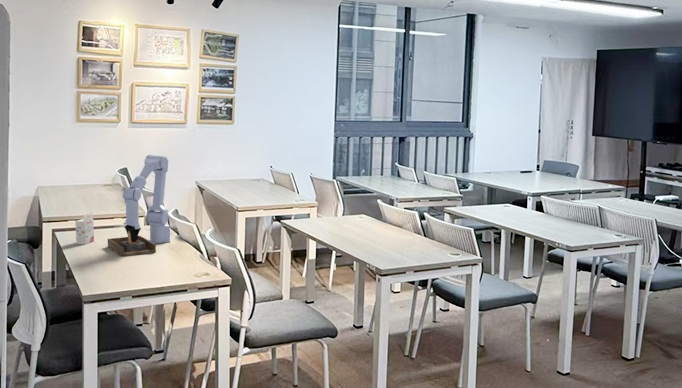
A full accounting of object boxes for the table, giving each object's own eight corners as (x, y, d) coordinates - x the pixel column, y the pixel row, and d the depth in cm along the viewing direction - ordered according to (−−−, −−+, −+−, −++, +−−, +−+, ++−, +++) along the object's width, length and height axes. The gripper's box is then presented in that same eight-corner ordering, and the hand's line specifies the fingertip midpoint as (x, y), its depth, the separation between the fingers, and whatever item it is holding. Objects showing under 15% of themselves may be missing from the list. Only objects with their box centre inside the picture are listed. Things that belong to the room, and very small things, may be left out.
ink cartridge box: (85, 240, 347) (84, 212, 344) (94, 241, 346) (93, 212, 343) (75, 244, 338) (74, 214, 336) (84, 245, 337) (84, 215, 335)
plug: (135, 246, 331) (135, 229, 330) (137, 247, 328) (137, 231, 327) (127, 246, 329) (127, 230, 328) (130, 248, 326) (130, 232, 325)
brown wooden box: (140, 243, 344) (139, 235, 343) (155, 252, 326) (155, 244, 326) (107, 246, 335) (107, 238, 334) (122, 256, 317) (121, 248, 316)
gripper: (119, 211, 330) (119, 239, 332) (128, 216, 318) (129, 245, 320) (133, 210, 334) (133, 237, 336) (143, 215, 322) (144, 243, 324)
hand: (132, 241), depth 328 cm, fingers closed on plug, 3 cm apart
